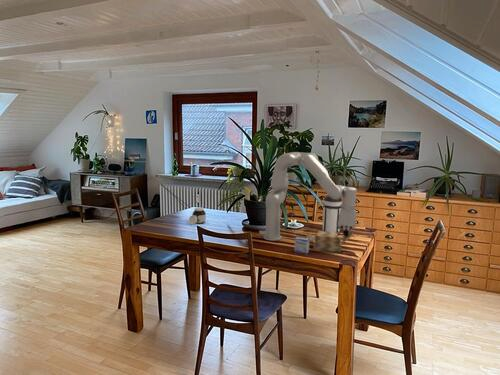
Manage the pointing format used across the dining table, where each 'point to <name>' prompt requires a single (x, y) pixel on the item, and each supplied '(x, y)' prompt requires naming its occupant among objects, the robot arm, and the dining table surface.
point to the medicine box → (301, 245)
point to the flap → (347, 236)
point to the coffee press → (331, 214)
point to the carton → (326, 241)
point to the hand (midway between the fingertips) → (345, 236)
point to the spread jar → (198, 216)
